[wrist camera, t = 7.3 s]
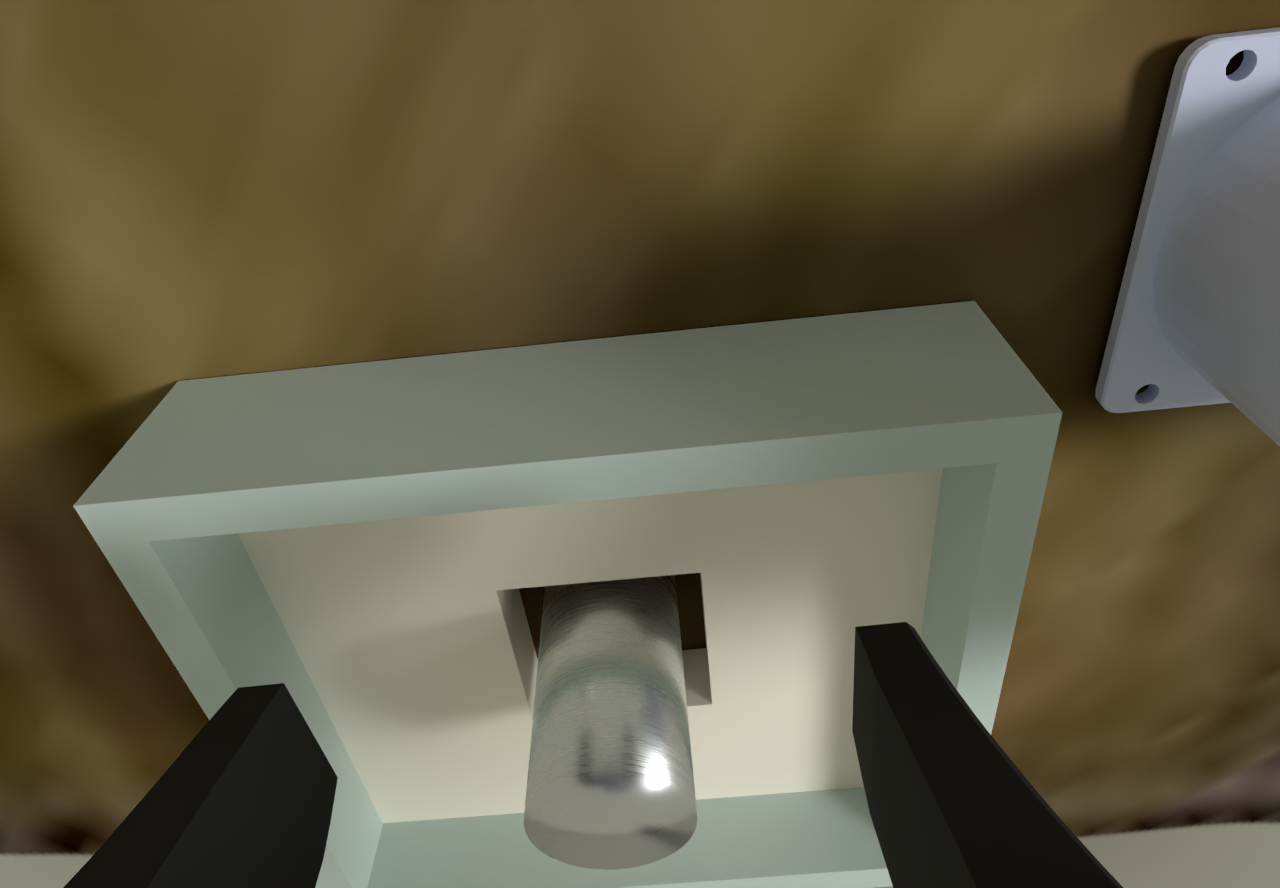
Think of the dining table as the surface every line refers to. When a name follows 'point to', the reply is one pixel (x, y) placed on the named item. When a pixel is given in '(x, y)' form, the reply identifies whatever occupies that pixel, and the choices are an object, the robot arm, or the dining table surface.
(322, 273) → the dining table surface
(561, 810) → the peg
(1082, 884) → the robot arm
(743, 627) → the caddy
